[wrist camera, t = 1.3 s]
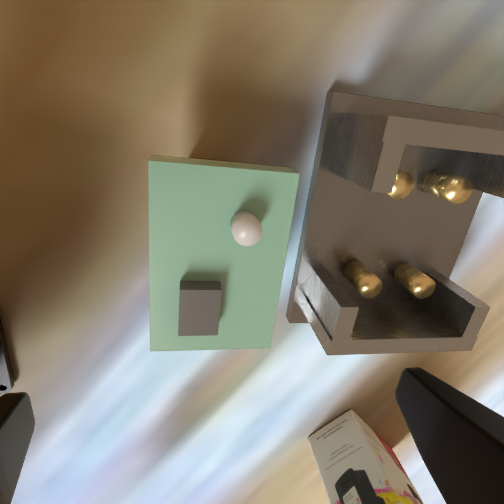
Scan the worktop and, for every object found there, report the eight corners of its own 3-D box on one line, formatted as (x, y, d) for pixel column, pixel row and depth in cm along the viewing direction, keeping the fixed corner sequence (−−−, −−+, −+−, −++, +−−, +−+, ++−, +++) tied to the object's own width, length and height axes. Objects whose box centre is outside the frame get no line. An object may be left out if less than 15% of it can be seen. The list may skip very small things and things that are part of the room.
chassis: (424, 315, 25) (476, 361, 20) (286, 315, 23) (310, 368, 18) (500, 116, 19) (593, 120, 15) (327, 91, 17) (376, 88, 13)
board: (264, 330, 18) (274, 361, 16) (152, 331, 17) (147, 366, 15) (289, 167, 15) (307, 178, 13) (152, 154, 14) (145, 165, 11)
